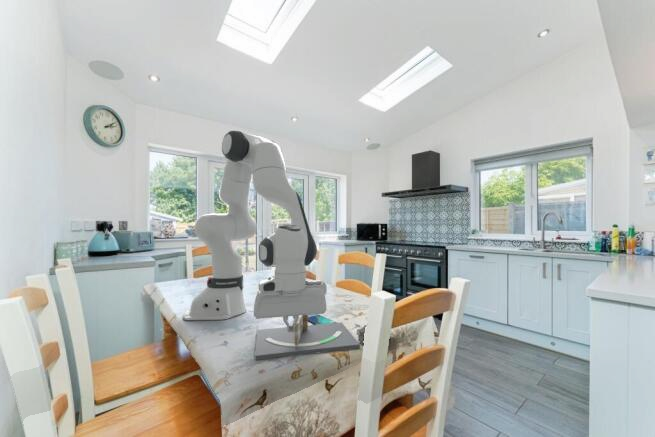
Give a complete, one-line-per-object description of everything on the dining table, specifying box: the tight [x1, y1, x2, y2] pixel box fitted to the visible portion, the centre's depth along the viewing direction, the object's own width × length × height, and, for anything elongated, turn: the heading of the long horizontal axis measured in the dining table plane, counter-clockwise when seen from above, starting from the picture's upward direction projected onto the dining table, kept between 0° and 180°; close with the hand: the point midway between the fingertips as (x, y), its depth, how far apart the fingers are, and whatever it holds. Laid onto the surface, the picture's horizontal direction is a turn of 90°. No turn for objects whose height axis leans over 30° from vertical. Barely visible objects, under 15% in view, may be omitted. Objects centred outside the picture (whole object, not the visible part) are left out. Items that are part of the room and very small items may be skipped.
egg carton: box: [356, 324, 367, 345], centre depth 82 cm, size 11×8×4 cm
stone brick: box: [295, 315, 309, 345], centre depth 82 cm, size 15×4×5 cm, turn 178°
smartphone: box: [308, 314, 338, 325], centre depth 99 cm, size 7×1×15 cm
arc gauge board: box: [254, 322, 361, 361], centre depth 82 cm, size 28×18×1 cm, turn 103°
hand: (290, 331), depth 77 cm, fingers closed
